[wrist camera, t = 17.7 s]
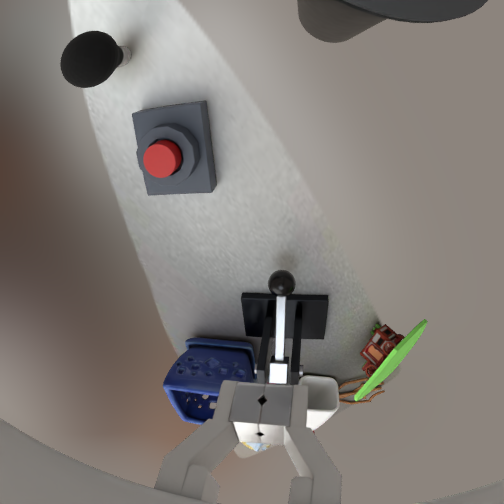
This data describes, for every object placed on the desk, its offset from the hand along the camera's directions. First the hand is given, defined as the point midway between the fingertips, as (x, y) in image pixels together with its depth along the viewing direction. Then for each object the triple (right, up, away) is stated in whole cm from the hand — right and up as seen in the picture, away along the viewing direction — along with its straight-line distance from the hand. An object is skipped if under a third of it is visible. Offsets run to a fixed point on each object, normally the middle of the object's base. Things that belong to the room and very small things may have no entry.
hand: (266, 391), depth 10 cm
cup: (+9, -31, +48) cm, 58 cm away
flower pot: (-5, -13, +43) cm, 45 cm away
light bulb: (-15, +27, +18) cm, 36 cm away
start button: (-9, +15, +20) cm, 27 cm away
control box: (-9, +17, +23) cm, 30 cm away
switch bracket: (+4, -4, +35) cm, 36 cm away
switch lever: (+3, -4, +28) cm, 28 cm away
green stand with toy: (+21, -11, +30) cm, 39 cm away
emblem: (+19, -23, +44) cm, 53 cm away
